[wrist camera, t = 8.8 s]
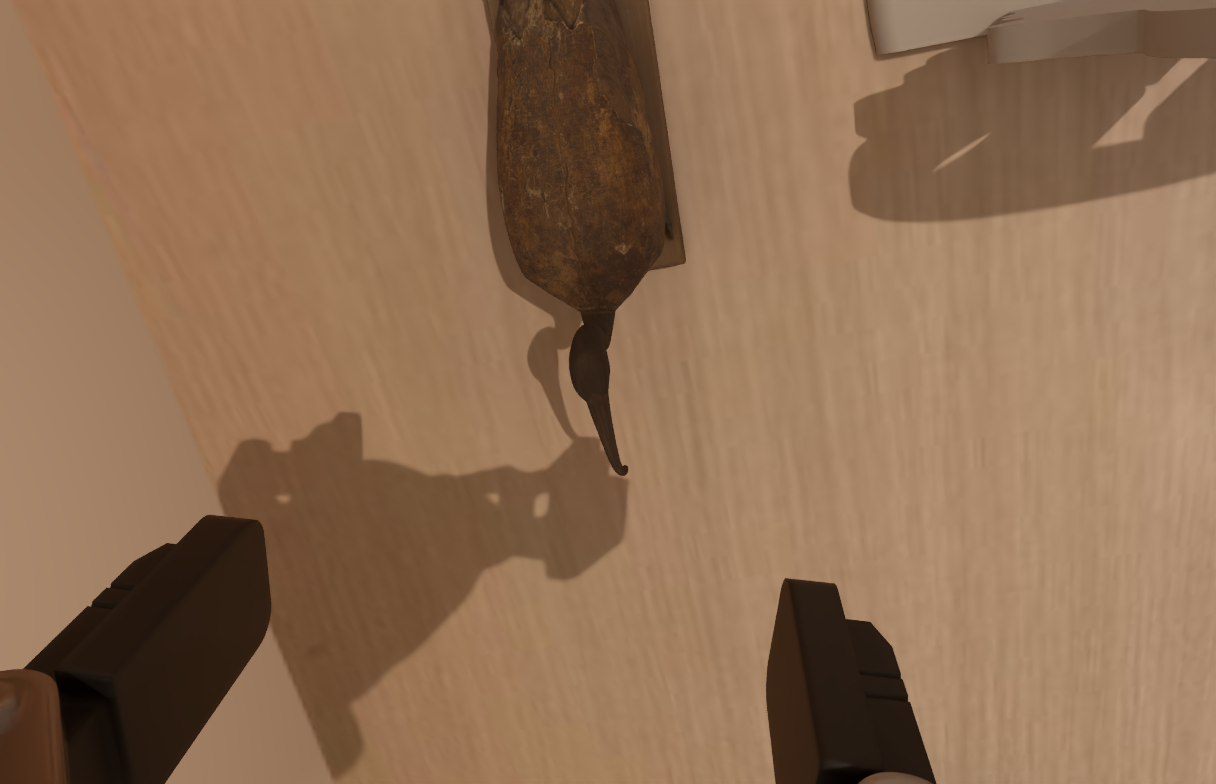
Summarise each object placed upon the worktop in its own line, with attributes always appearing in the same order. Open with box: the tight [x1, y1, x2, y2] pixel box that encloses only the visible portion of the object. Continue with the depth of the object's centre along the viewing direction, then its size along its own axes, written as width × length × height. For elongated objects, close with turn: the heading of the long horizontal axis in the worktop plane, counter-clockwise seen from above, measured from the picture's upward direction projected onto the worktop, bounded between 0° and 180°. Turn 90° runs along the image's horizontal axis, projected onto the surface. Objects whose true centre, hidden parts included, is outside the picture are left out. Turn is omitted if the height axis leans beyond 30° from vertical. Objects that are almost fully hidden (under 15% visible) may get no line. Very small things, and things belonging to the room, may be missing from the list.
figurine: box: [487, 0, 686, 476], centre depth 23 cm, size 14×4×9 cm, turn 10°
